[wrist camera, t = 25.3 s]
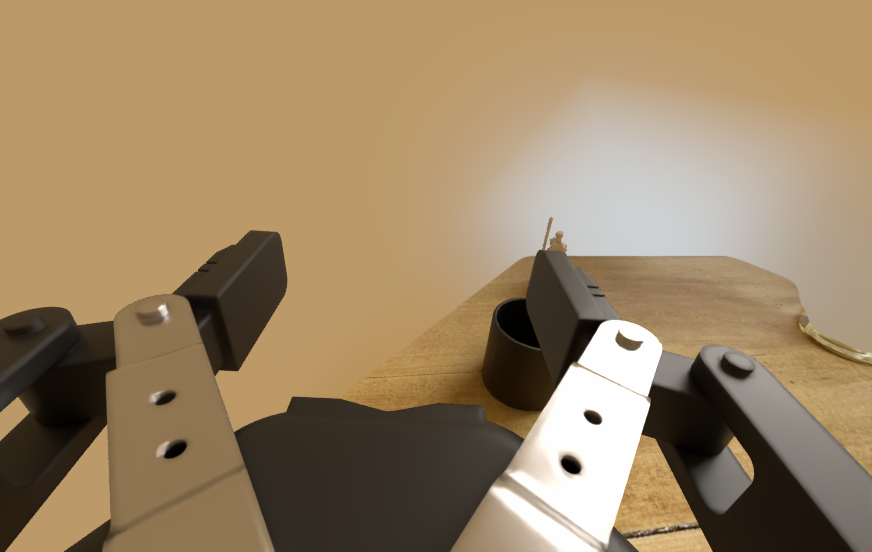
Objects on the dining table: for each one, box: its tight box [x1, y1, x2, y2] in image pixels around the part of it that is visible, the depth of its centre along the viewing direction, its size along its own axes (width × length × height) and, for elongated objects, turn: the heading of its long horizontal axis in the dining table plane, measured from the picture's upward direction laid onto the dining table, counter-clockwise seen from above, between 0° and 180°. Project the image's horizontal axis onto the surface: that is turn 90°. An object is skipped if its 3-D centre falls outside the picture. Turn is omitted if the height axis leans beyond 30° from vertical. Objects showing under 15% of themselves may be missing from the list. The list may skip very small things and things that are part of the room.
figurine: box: [542, 217, 567, 252], centre depth 61 cm, size 5×5×12 cm
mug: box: [482, 298, 557, 410], centre depth 44 cm, size 9×12×9 cm
